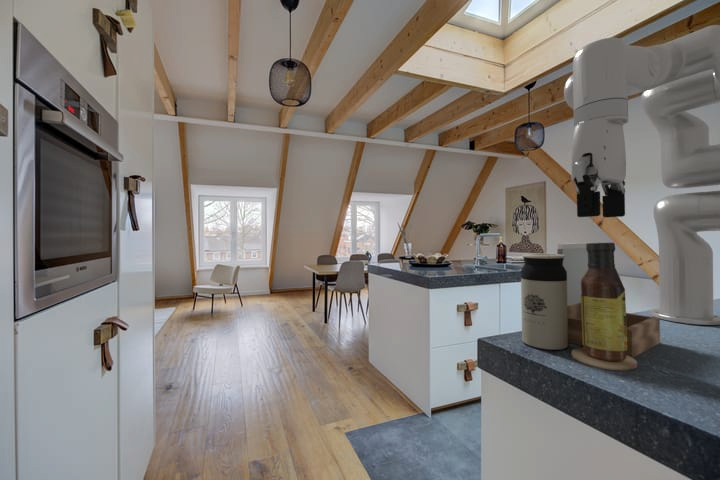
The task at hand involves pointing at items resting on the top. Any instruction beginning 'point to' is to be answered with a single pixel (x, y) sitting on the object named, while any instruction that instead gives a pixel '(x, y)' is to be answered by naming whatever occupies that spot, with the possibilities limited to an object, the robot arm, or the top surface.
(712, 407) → the top surface
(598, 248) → the sauce bottle
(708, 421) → the top surface
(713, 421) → the top surface
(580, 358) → the disc
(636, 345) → the wooden open box
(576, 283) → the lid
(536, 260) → the stoneware storage canister
